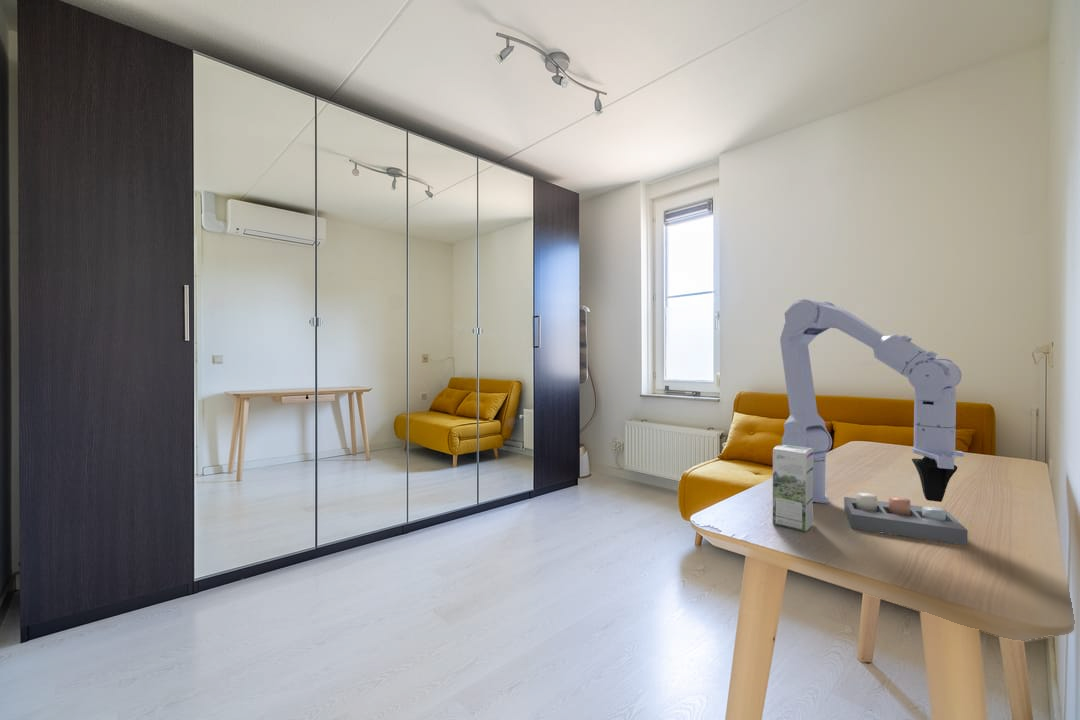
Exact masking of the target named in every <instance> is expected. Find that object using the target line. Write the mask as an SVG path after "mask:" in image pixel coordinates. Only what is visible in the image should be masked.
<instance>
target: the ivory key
mask: <svg viewBox="0 0 1080 720" xmlns="http://www.w3.org/2000/svg"><path fill="white" fill-rule="evenodd" d="M855 494H856V497H855V498H856V508H857V509H859V510H866V511H874V512H876V511H877V501H878V496H877V495H875V494H874V493H873V494H872V493H868V492H857V493H855Z"/></svg>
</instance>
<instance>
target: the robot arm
mask: <svg viewBox="0 0 1080 720" xmlns="http://www.w3.org/2000/svg"><path fill="white" fill-rule="evenodd" d="M784 321H785V322H784V324H783V329H782V332H781V335H780V339H779V340H780V341H779V342H780V348H781V349H780V351H781V357H782V364H783V372H784V379H785V387H786V394H787V400H788V401H787V402H788V409H789V417H788V418H787V419H786V421H785V422H784V423H783V429H784V431H783V435H782V437H781V438H782V439H781V445H788V446H797V447H805V448H813V503H820V504H830V501H829V498H828V495H827V492H826V472H827V471H826V469H827V468H826V466H827V465H826V459H827V457H826V456H827V455H826V453H827V452H828V451H830V450H831V448H832V445H833V439H832V436H831V434H830V432H829V431H828V429H827V428H826V427H827V426H826V421H825V420H824V419H823V418H822V416H820V414H819V413H818V407H817V406H818V405H817V401H816V392H815V387H814V385H815V384H814V378H813V371H812V364H811V358H810V350H809V345H810V343H812V342H813V340H814V339H815V338H816V337H817V336H819V335H821V334H823V333H824V332H827V330H830V329H837V330H838V331H840V332H843V333H844V334H846V335H848V336H849V337H852V338H853V339H855V340H857V341H858V342H861V343H862V344H864V345H866V346H868V347H869V348H870V349H871V348H872V350H873V355H874V358H875V359H877V360H879V362H881V363H883V364H884V365H886V366H887V367H889V368H891V369H892V370H893V371H896V372H897V373H899V374H900V375H901V376H903V377H905V378H907V379H908V381H909V383H910V385H911V386H912V387H913V388H914V399H913V402H914V404H913V405H914V406H913V407H914V408H913V446H912V448H911V451H912V454H913V453H914V454H917V455H920V456H921V457H922V456H923V457H922V458H911V461H912V463H913V465H914V466H915V468H916V470H917V473H918V476H919V479H920V483H921V489H922V492H923V496H924V498H925V501H931V502H938V503H942V501H943V500H944V497H945V493H946V490H947V487H948V484H949V482H950V480H951V478H952V476H954V474H955V473H956V472H957V471H958V466H957V465H955V458H957V457H962V458H963V457H965V452H963V451H961V450H956V432H957V431H956V428H957V427H956V424H957V421H956V420H957V418H956V417H957V409H956V408H957V401H956V397H957V396H956V393H957V392H956V391H957V390H956V387H957V386H958V385H959V384H960V382H961V381H962V375H963V374H962V372H961V371H962V370H961V369H960V367H959V366H958V365H957V364H956V363H954V362H953V361H952V360H951V359H947V358H937V356H938V353H937V352H935V351H933V350H928V351H927V350H926V349H925V348H923V347H920V345H917V344H915V343H913V342H912V340H913V338H912V337H910V336H909V335H906V334H905V335H904V334H903V335H900V334H890V335H886V334H884V333H882V332H881V331H880V330H878V329H877V328H875V327H873V326H872V325H870V324H869V323H866V321H863V320H862V319H861V318H859V317H857V316H856V315H854V314H852V313H851V312H850V311H848V310H846V309H845V308H843V307H840V306H836V305H835V304H834V303H832V302H829V301H816V300H810V299H806V298H805V299H798V300H796V301H794V302H793V303H792V304H791V305H790V306H789V308H788V309H787V310H785V312H784Z"/></svg>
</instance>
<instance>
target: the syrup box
mask: <svg viewBox="0 0 1080 720" xmlns="http://www.w3.org/2000/svg"><path fill="white" fill-rule="evenodd" d="M813 503H814V502H813V448H805V447H797V446H788V445H782V444H778V445H775V446H774V447H773V448H772V524H773V525H775V526H779V527H785V528H788V529H792V530H797V531H801V532H807V531H808V530H809V529H810V528H811V526H812V525H813V523H814V509H813V507H814V506H813V505H814V504H813Z"/></svg>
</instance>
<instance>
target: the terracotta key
mask: <svg viewBox="0 0 1080 720" xmlns="http://www.w3.org/2000/svg"><path fill="white" fill-rule="evenodd" d="M887 502H888V512H889V513H891V514H896V515H904V516H910V505H911V499H909V498H906V497H903V496H893V495H892V496H890V495H889V496H888V501H887Z"/></svg>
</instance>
